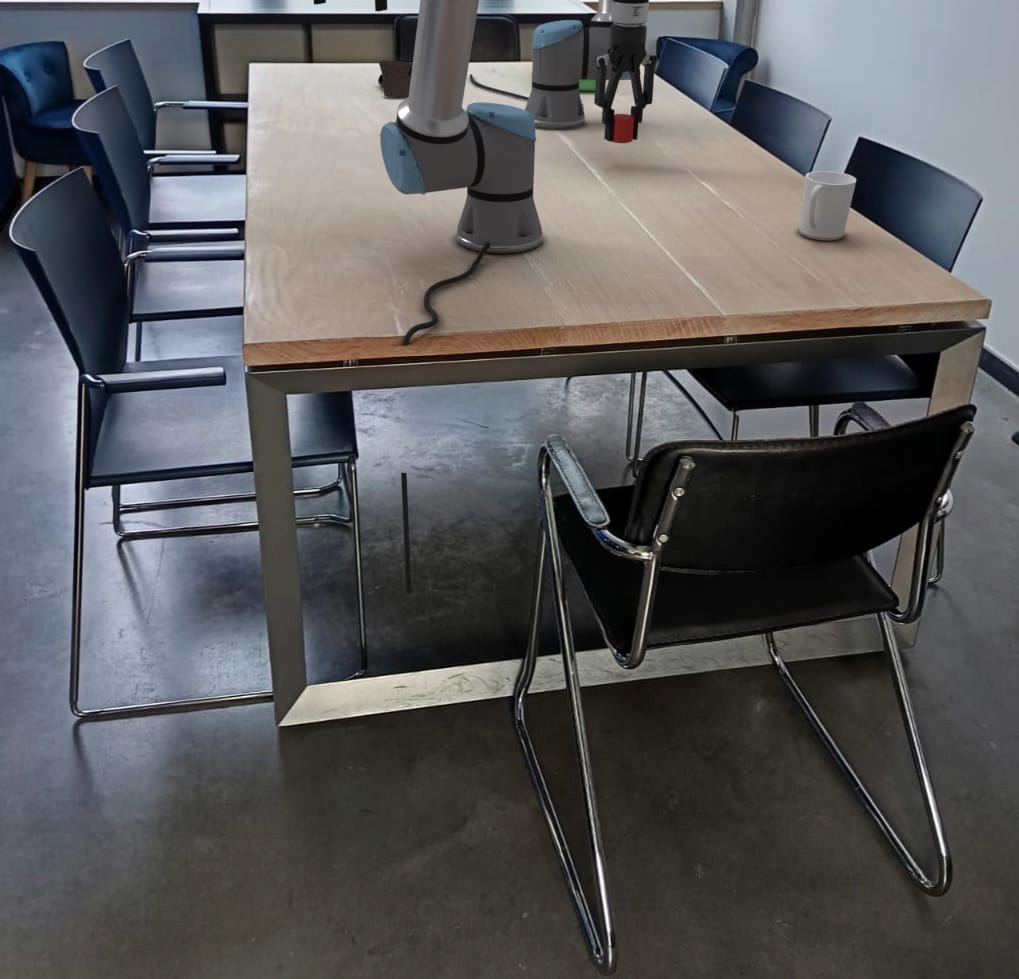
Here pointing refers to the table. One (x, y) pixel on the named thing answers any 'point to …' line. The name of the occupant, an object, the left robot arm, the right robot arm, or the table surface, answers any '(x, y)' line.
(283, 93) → the table surface
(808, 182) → the mug
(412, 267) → the table surface
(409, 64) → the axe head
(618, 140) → the red cylinder
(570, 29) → the right robot arm
